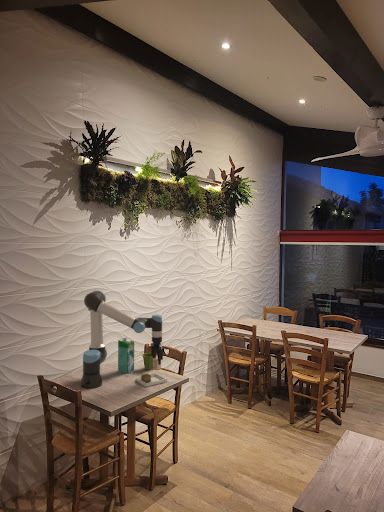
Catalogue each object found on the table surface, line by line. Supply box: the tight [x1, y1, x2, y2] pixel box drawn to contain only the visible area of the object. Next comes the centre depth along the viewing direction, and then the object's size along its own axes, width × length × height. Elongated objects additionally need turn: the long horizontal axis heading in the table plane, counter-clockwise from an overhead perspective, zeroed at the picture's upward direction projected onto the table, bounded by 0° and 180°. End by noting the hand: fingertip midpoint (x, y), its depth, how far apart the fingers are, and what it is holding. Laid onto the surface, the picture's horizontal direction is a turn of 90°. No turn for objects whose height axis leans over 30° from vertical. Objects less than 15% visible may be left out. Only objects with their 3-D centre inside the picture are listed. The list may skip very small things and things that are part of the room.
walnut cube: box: [140, 373, 151, 383], centre depth 293 cm, size 5×5×5 cm
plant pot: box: [141, 352, 157, 371], centre depth 325 cm, size 12×12×11 cm
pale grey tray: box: [135, 372, 168, 388], centre depth 296 cm, size 17×15×2 cm
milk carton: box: [117, 337, 135, 374], centre depth 318 cm, size 9×9×25 cm
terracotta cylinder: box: [153, 358, 161, 371], centre depth 298 cm, size 5×5×7 cm
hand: (156, 367), depth 298 cm, fingers closed on terracotta cylinder, 5 cm apart
